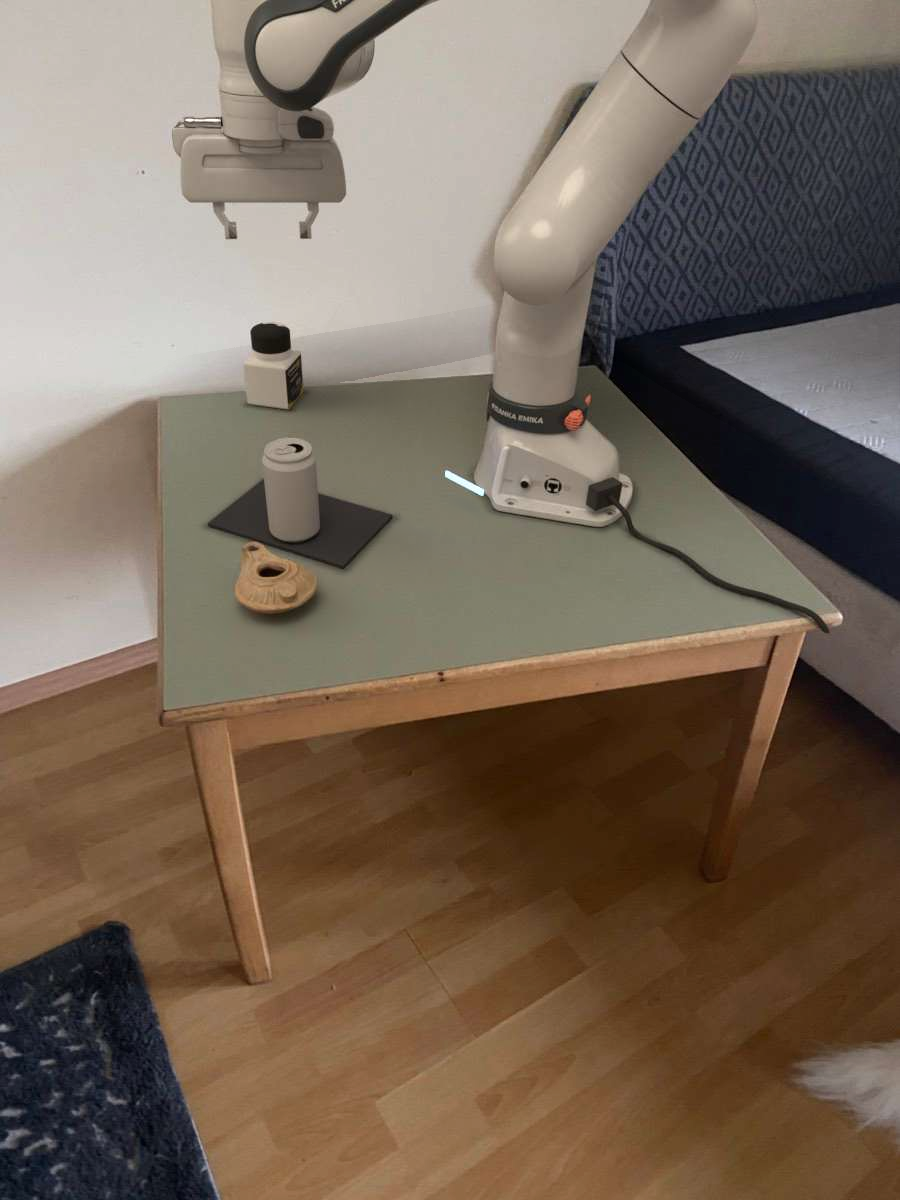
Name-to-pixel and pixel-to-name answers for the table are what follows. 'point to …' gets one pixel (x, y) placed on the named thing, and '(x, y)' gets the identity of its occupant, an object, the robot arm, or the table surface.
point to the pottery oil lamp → (272, 581)
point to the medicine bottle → (273, 368)
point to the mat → (332, 544)
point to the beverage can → (291, 489)
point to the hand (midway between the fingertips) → (268, 238)
